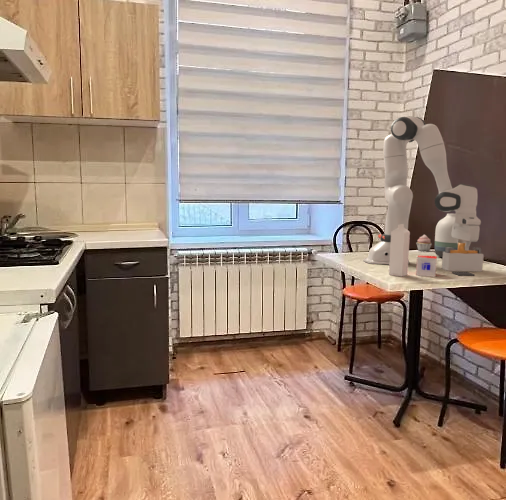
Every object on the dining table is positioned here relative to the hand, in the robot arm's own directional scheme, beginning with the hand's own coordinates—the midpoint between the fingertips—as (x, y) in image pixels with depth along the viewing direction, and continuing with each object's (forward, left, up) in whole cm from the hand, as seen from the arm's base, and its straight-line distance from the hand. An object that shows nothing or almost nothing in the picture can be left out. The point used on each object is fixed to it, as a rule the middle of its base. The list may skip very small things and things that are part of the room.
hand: (463, 249), depth 230 cm
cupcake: (+8, +68, -10) cm, 69 cm away
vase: (+12, +40, -10) cm, 43 cm away
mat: (-5, -12, -10) cm, 16 cm away
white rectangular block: (0, 0, -10) cm, 10 cm away
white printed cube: (-22, -13, -10) cm, 27 cm away
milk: (-35, -15, -10) cm, 39 cm away
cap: (0, 0, -2) cm, 2 cm away
